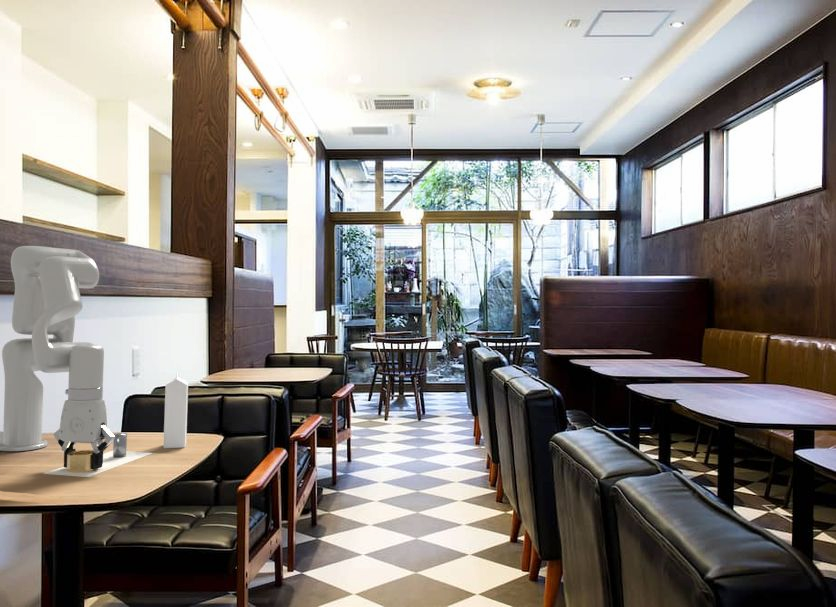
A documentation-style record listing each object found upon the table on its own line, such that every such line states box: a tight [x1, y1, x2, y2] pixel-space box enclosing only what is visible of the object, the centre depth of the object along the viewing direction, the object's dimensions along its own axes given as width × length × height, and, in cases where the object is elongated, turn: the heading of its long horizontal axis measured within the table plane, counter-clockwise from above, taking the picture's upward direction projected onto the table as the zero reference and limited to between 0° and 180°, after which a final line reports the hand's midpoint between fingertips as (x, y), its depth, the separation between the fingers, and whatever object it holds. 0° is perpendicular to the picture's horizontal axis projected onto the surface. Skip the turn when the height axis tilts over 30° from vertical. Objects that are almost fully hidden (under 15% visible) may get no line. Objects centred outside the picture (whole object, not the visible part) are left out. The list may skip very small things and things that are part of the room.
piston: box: [112, 432, 128, 458], centre depth 167 cm, size 3×3×6 cm
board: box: [42, 450, 153, 478], centre depth 160 cm, size 12×26×2 cm, turn 170°
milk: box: [163, 372, 189, 449], centre depth 188 cm, size 6×6×22 cm
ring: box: [67, 449, 97, 473], centre depth 153 cm, size 7×7×4 cm
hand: (83, 466), depth 153 cm, fingers closed on ring, 6 cm apart
